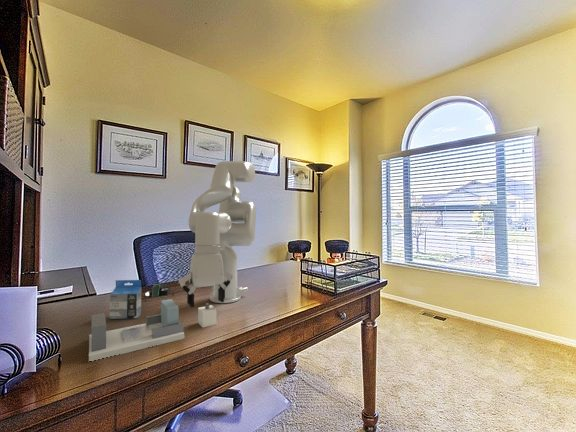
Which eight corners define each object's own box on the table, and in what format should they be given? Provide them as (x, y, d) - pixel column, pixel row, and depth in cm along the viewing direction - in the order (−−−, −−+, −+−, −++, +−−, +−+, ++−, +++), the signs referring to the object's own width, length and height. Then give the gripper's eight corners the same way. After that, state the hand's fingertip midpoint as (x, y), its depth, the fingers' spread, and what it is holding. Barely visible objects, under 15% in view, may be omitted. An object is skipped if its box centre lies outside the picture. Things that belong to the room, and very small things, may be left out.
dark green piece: (149, 290, 128) (149, 278, 128) (183, 289, 131) (183, 277, 131) (138, 300, 113) (138, 287, 113) (176, 298, 116) (176, 285, 116)
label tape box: (108, 319, 92) (108, 282, 92) (115, 315, 96) (115, 279, 96) (136, 319, 93) (136, 282, 92) (141, 314, 97) (141, 279, 96)
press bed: (173, 319, 89) (173, 300, 89) (183, 331, 79) (183, 311, 79) (91, 335, 76) (91, 314, 76) (91, 353, 67) (91, 328, 67)
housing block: (211, 320, 92) (211, 300, 92) (216, 324, 89) (216, 304, 89) (198, 323, 90) (198, 303, 90) (202, 327, 86) (202, 307, 86)
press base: (172, 322, 90) (172, 317, 90) (184, 338, 78) (184, 333, 78) (89, 339, 77) (89, 334, 77) (88, 362, 66) (88, 355, 66)
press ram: (171, 320, 87) (171, 299, 87) (178, 330, 80) (178, 307, 80) (160, 322, 85) (161, 300, 85) (167, 332, 78) (167, 308, 78)
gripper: (228, 248, 97) (227, 297, 96) (176, 250, 87) (175, 305, 86) (237, 249, 91) (236, 302, 90) (182, 252, 81) (181, 311, 80)
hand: (206, 303), depth 88 cm, fingers open, 9 cm apart
